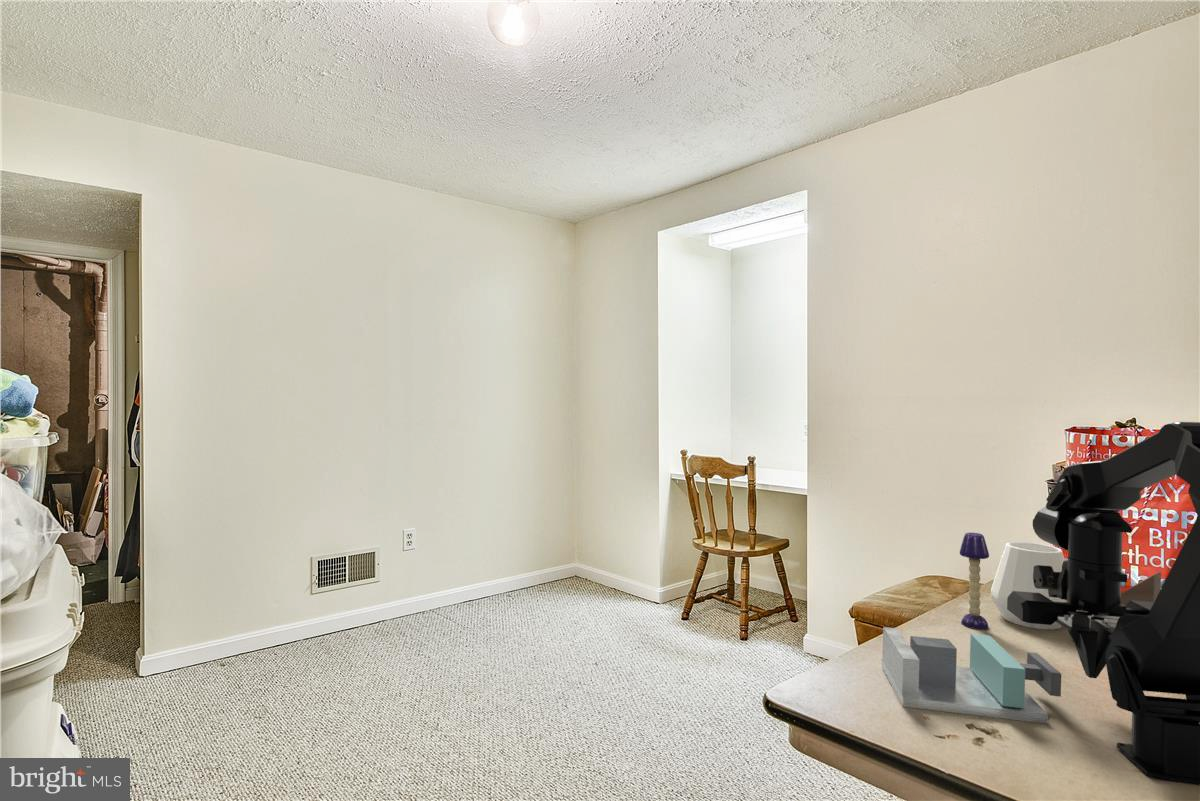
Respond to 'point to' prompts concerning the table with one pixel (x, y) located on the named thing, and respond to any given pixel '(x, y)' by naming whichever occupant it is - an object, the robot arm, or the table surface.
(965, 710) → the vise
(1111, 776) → the table surface
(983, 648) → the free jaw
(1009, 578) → the white faceted vase
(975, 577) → the toy lamp
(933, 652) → the steel block
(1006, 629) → the table surface
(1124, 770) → the table surface
